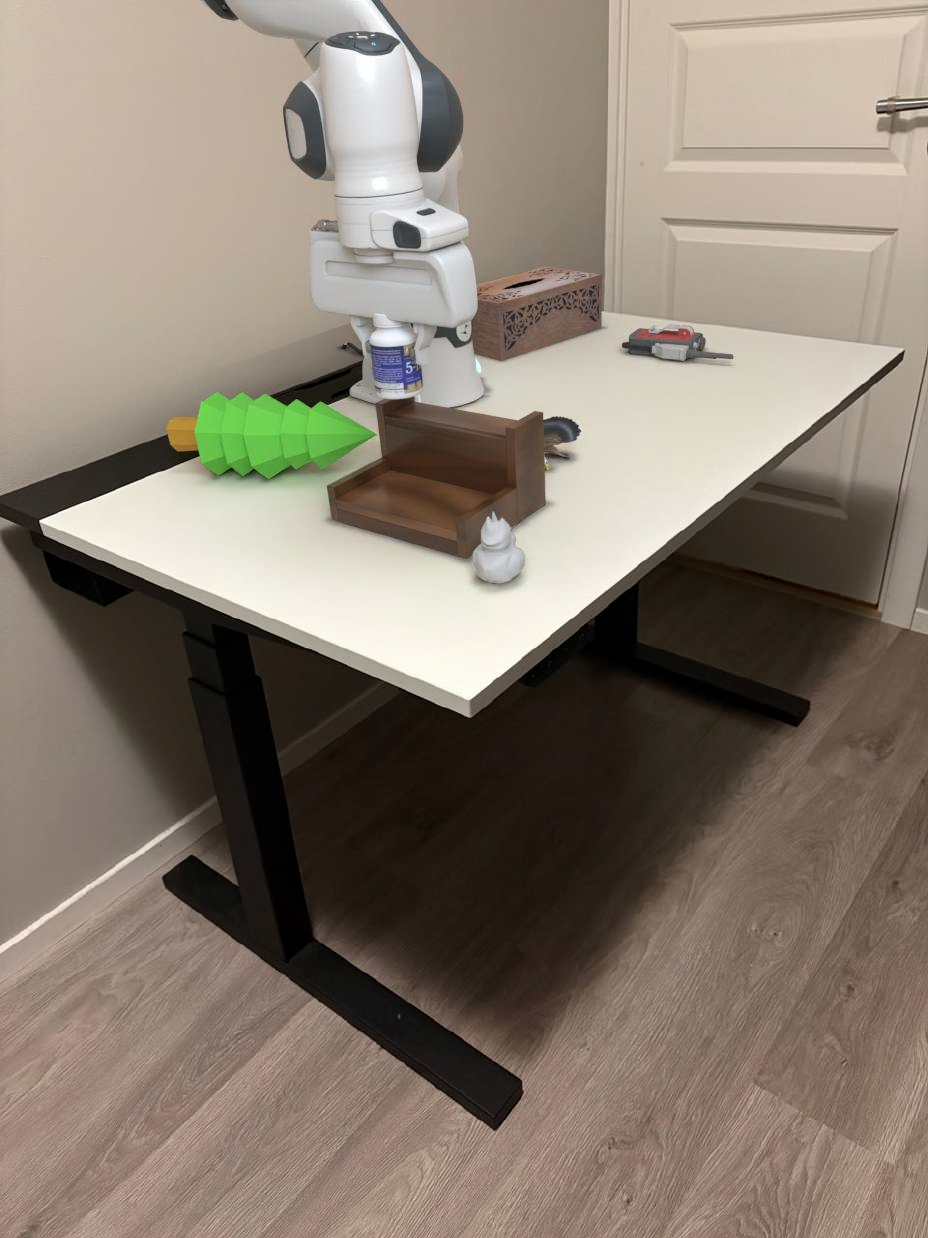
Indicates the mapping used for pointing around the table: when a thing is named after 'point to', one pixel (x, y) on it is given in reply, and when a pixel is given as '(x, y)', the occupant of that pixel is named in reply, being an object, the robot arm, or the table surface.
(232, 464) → the decorative tree
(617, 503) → the table surface
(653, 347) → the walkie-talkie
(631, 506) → the table surface
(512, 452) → the shelf
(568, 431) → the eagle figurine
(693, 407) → the table surface
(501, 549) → the rubber duck
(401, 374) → the pill bottle
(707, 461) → the table surface
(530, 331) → the tissue box cover
